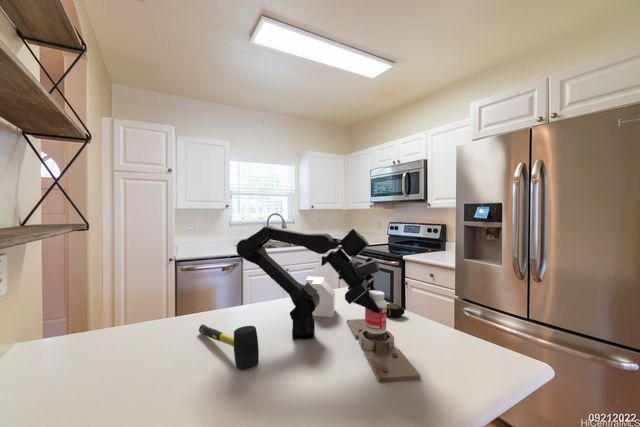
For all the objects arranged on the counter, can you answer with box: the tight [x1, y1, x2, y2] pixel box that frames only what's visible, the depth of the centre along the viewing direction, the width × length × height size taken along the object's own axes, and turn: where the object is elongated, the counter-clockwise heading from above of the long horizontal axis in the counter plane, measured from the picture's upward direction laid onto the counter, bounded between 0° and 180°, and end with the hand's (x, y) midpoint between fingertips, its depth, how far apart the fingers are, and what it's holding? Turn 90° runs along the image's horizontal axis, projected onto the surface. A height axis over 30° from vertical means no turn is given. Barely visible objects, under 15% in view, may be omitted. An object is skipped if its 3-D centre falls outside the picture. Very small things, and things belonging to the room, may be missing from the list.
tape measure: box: [386, 302, 405, 318], centre depth 103 cm, size 7×7×4 cm
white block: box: [305, 276, 336, 318], centre depth 107 cm, size 11×11×12 cm
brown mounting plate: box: [346, 318, 421, 383], centre depth 80 cm, size 34×10×3 cm, turn 7°
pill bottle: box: [364, 289, 388, 334], centre depth 80 cm, size 6×6×11 cm
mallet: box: [198, 324, 260, 371], centre depth 77 cm, size 29×6×10 cm, turn 47°
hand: (380, 308), depth 79 cm, fingers closed on pill bottle, 6 cm apart
